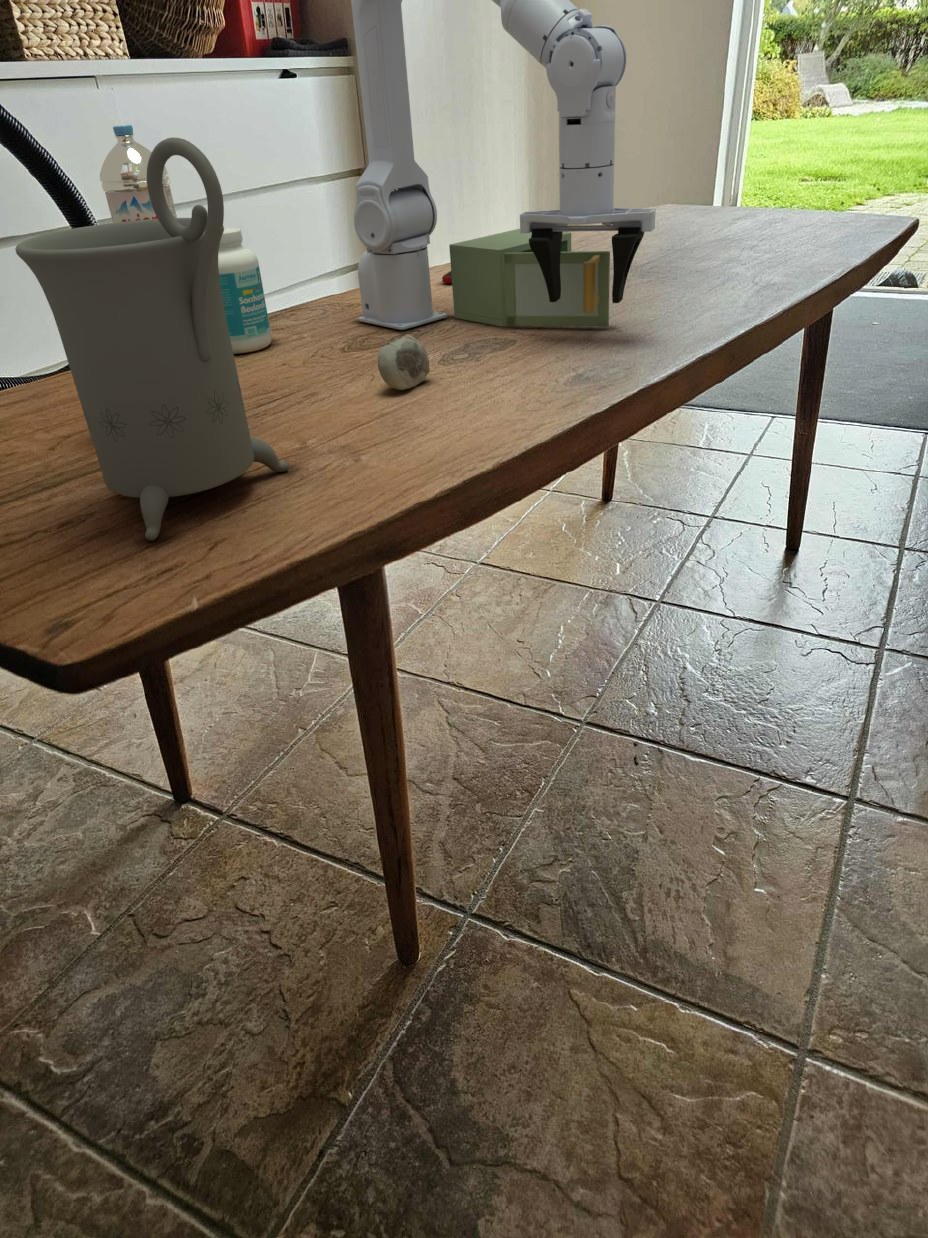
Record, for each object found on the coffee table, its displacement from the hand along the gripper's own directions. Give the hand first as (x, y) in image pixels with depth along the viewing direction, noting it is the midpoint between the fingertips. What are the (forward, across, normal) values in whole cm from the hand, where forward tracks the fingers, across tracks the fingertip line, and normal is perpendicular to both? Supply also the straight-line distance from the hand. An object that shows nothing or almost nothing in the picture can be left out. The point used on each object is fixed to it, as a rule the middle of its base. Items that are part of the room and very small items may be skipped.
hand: (585, 300), depth 98 cm
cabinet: (+4, -13, +12) cm, 19 cm away
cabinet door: (+4, -5, +2) cm, 7 cm away
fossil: (+5, -14, -20) cm, 25 cm away
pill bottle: (+5, -42, -8) cm, 43 cm away
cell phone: (+4, -27, +35) cm, 45 cm away
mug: (+5, -19, -49) cm, 53 cm away
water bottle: (+5, -43, -19) cm, 47 cm away
